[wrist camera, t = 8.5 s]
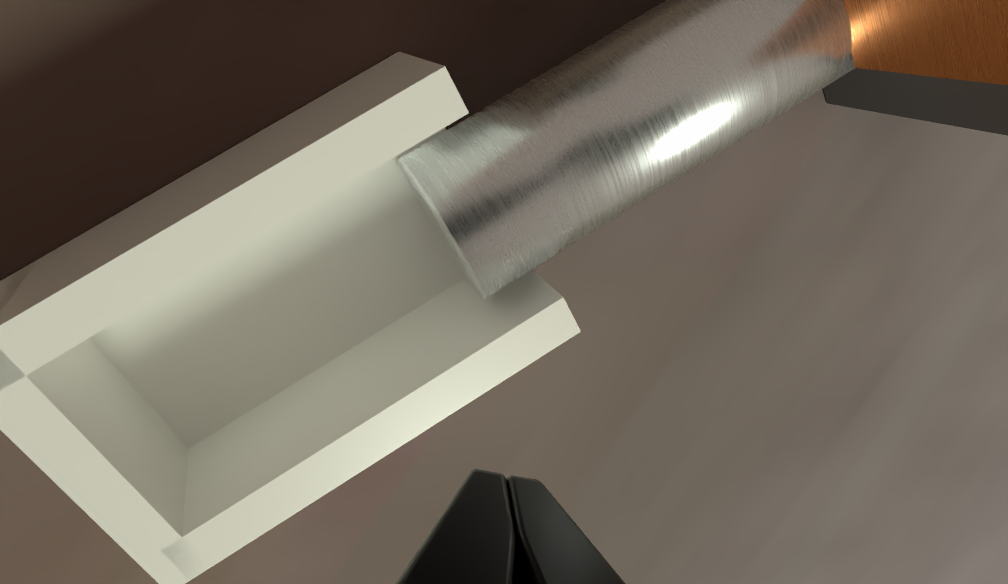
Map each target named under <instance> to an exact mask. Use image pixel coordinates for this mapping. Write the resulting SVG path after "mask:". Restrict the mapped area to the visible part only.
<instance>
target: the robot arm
mask: <svg viewBox="0 0 1008 584" xmlns="http://www.w3.org/2000/svg"><path fill="white" fill-rule="evenodd" d="M396 584H625V583H624V581H623V580H622V579H621V578H620V577H619V575H618V574H617V573H616V572H615V571H614V569H613V568H612V567H611V566H610V565H609V563H608V562H607V561H606V560H605V559H604V557H603V556H602V555H601V554H600V552H599V551H598V550H597V549H596V548H595V546H594V545H593V544H592V543H591V542H590V540H589V539H588V538H587V537H586V536H585V534H584V533H583V532H582V531H581V530H580V528H579V527H578V526H577V525H576V523H575V522H574V521H573V520H572V519H571V517H570V516H569V515H568V514H567V513H566V511H565V510H564V509H563V508H562V507H561V505H560V504H559V503H558V502H557V501H556V499H555V498H554V497H553V496H552V495H551V493H550V492H549V491H548V490H547V488H546V487H545V486H544V485H543V484H542V483H541V482H540V481H539V480H536V479H531V478H525V477H519V476H513V475H512V476H508V477H507V478H505V476H504V475H503V474H501V473H496V472H490V471H484V470H478V469H475V470H472V471H471V472H470V473H469V475H468V476H467V478H466V479H465V481H464V482H463V484H462V485H461V487H460V488H459V490H458V491H457V493H456V494H455V496H454V497H453V499H452V500H451V502H450V503H449V505H448V506H447V508H446V509H445V511H444V512H443V514H442V515H441V517H440V518H439V520H438V521H437V523H436V524H435V526H434V527H433V529H432V530H431V532H430V533H429V535H428V536H427V538H426V539H425V541H424V542H423V544H422V545H421V547H420V548H419V550H418V551H417V553H416V554H415V556H414V557H413V559H412V560H411V562H410V563H409V565H408V566H407V568H406V569H405V571H404V572H403V574H402V575H401V577H400V578H399V580H398V581H397V583H396Z"/></svg>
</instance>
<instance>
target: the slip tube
mask: <svg viewBox="0 0 1008 584" xmlns="http://www.w3.org/2000/svg"><path fill="white" fill-rule="evenodd" d="M855 68H861V69H870V70H879V71H887V72H896V73H905V74H914V75H923V76H931V77H940V78H949V79H958V80H966V81H975V82H984V83H993V84H1002V85H1008V0H666V1H664V2H663V3H661V4H659V5H657V6H656V7H654V8H652V9H651V10H649V11H647V12H646V13H644V14H642V15H641V16H639V17H637V18H636V19H634V20H632V21H630V22H629V23H627V24H625V25H624V26H622V27H620V28H619V29H617V30H615V31H614V32H612V33H610V34H609V35H607V36H605V37H603V38H602V39H600V40H598V41H597V42H595V43H593V44H592V45H590V46H588V47H587V48H585V49H583V50H582V51H580V52H578V53H576V54H575V55H573V56H571V57H570V58H568V59H566V60H565V61H563V62H561V63H560V64H558V65H556V66H555V67H553V68H551V69H549V70H548V71H546V72H544V73H543V74H541V75H539V76H538V77H536V78H534V79H533V80H531V81H529V82H528V83H526V84H524V85H523V86H521V87H519V88H517V89H516V90H514V91H512V92H511V93H509V94H507V95H506V96H504V97H502V98H501V99H499V100H497V101H496V102H494V103H492V104H490V105H489V106H487V107H485V108H484V109H482V110H480V111H479V112H477V113H475V114H474V115H472V116H470V117H469V118H467V119H465V120H463V121H462V122H460V123H458V124H457V125H455V126H453V127H452V128H450V129H448V130H447V131H445V132H443V133H442V134H440V135H438V136H436V137H435V138H433V139H431V140H430V141H428V142H426V143H425V144H423V145H421V146H420V147H418V148H416V149H415V150H413V151H411V152H409V153H408V154H406V155H404V156H403V157H401V158H399V164H400V167H401V169H402V171H403V173H404V175H405V177H406V180H407V181H408V183H409V185H410V187H411V189H412V191H413V193H414V195H415V197H416V198H417V200H418V202H419V204H420V205H421V207H422V209H423V211H424V212H425V214H426V216H427V218H428V219H429V221H430V223H431V224H432V226H433V228H434V229H435V231H436V232H437V234H438V236H439V237H440V239H441V241H442V242H443V244H444V245H445V247H446V248H447V250H448V252H449V253H450V255H451V256H452V258H453V259H454V261H455V262H456V264H457V265H458V267H459V268H460V270H461V271H462V273H463V274H464V276H465V277H466V278H467V280H468V281H469V283H470V284H471V285H472V287H473V288H474V289H475V290H476V292H477V293H478V294H479V295H480V296H481V297H482V298H483V299H485V298H487V297H488V296H490V295H492V294H493V293H495V292H496V291H498V290H500V289H501V288H503V287H504V286H506V285H508V284H509V283H511V282H512V281H514V280H516V279H517V278H519V277H520V276H522V275H524V274H525V273H527V272H529V271H530V270H532V269H533V268H535V267H537V266H538V265H540V264H541V263H543V262H545V261H546V260H548V259H549V258H551V257H553V256H554V255H556V254H557V253H559V252H561V251H562V250H564V249H565V248H567V247H569V246H570V245H572V244H573V243H575V242H577V241H578V240H580V239H582V238H583V237H585V236H586V235H588V234H590V233H591V232H593V231H594V230H596V229H598V228H599V227H601V226H602V225H604V224H606V223H607V222H609V221H610V220H612V219H614V218H615V217H617V216H618V215H620V214H622V213H623V212H625V211H626V210H628V209H630V208H631V207H633V206H635V205H636V204H638V203H639V202H641V201H643V200H644V199H646V198H647V197H649V196H651V195H652V194H654V193H655V192H657V191H659V190H660V189H662V188H663V187H665V186H667V185H668V184H670V183H671V182H673V181H675V180H676V179H678V178H679V177H681V176H683V175H684V174H686V173H688V172H689V171H691V170H692V169H694V168H696V167H697V166H699V165H700V164H702V163H704V162H705V161H707V160H708V159H710V158H712V157H713V156H715V155H716V154H718V153H720V152H721V151H723V150H724V149H726V148H728V147H729V146H731V145H733V144H734V143H736V142H737V141H739V140H741V139H742V138H744V137H745V136H747V135H749V134H750V133H752V132H753V131H755V130H757V129H758V128H760V127H761V126H763V125H765V124H766V123H768V122H769V121H771V120H773V119H774V118H776V117H777V116H779V115H781V114H782V113H784V112H786V111H787V110H789V109H790V108H792V107H794V106H795V105H797V104H798V103H800V102H802V101H803V100H805V99H806V98H808V97H810V96H811V95H813V94H814V93H816V92H818V91H819V90H821V89H822V88H824V87H826V86H827V85H829V84H830V83H832V82H834V81H835V80H837V79H839V78H840V77H842V76H843V75H845V74H847V73H848V72H850V71H851V70H853V69H855Z"/></svg>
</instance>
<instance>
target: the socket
mask: <svg viewBox="0 0 1008 584" xmlns="http://www.w3.org/2000/svg"><path fill="white" fill-rule="evenodd" d="M823 91H824V94H825V98H826V102H827V103H829V104H834V105H840V106H846V107H851V108H857V109H862V110H868V111H874V112H879V113H885V114H890V115H896V116H902V117H907V118H913V119H919V120H924V121H930V122H935V123H941V124H947V125H952V126H958V127H964V128H969V129H975V130H980V131H986V132H992V133H997V134H1003V135H1008V85H1002V84H993V83H984V82H975V81H966V80H958V79H949V78H940V77H931V76H923V75H914V74H905V73H896V72H887V71H879V70H870V69H861V68H855V69H853V70H851V71H850V72H848V73H847V74H845V75H843V76H842V77H840V78H839V79H837V80H835V81H834V82H832V83H830V84H829V85H827V86H826V87H824V88H823Z"/></svg>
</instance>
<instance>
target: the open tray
mask: <svg viewBox="0 0 1008 584" xmlns="http://www.w3.org/2000/svg"><path fill="white" fill-rule="evenodd" d="M468 113H469V112H468V110H467V108H466V106H465V104H464V102H463V100H462V98H461V96H460V94H459V92H458V90H457V88H456V87H455V85H454V83H453V81H452V79H451V77H450V75H449V73H448V71H447V69H446V67H445V66H443V65H440V64H437V63H434V62H431V61H427V60H424V59H421V58H418V57H415V56H412V55H408V54H405V53H402V52H397V53H395V54H393V55H392V56H390V57H388V58H387V59H385V60H383V61H381V62H380V63H378V64H376V65H374V66H373V67H371V68H369V69H367V70H366V71H364V72H362V73H360V74H359V75H357V76H355V77H354V78H352V79H350V80H348V81H347V82H345V83H343V84H341V85H340V86H338V87H336V88H334V89H333V90H331V91H329V92H328V93H326V94H324V95H322V96H321V97H319V98H317V99H315V100H314V101H312V102H310V103H308V104H307V105H305V106H303V107H302V108H300V109H298V110H296V111H295V112H293V113H291V114H289V115H288V116H286V117H284V118H282V119H281V120H279V121H277V122H275V123H274V124H272V125H270V126H269V127H267V128H265V129H263V130H262V131H260V132H258V133H256V134H255V135H253V136H251V137H249V138H248V139H246V140H244V141H243V142H241V143H239V144H237V145H236V146H234V147H232V148H230V149H229V150H227V151H225V152H223V153H222V154H220V155H218V156H216V157H215V158H213V159H211V160H210V161H208V162H206V163H204V164H203V165H201V166H199V167H197V168H196V169H194V170H192V171H190V172H189V173H187V174H185V175H184V176H182V177H180V178H178V179H177V180H175V181H173V182H171V183H170V184H168V185H166V186H164V187H163V188H161V189H159V190H157V191H156V192H154V193H152V194H151V195H149V196H147V197H145V198H144V199H142V200H140V201H138V202H137V203H135V204H133V205H131V206H130V207H128V208H126V209H125V210H123V211H121V212H119V213H118V214H116V215H114V216H112V217H111V218H109V219H107V220H105V221H104V222H102V223H100V224H98V225H97V226H95V227H93V228H92V229H90V230H88V231H86V232H85V233H83V234H81V235H79V236H78V237H76V238H74V239H72V240H71V241H69V242H67V243H66V244H64V245H62V246H60V247H59V248H57V249H55V250H53V251H52V252H50V253H48V254H46V255H45V256H43V257H41V258H39V259H38V260H36V261H34V262H33V263H31V264H29V265H27V266H26V267H24V268H22V269H20V270H19V271H17V272H15V273H13V274H12V275H10V276H8V277H7V278H5V279H3V280H1V281H0V430H1V431H2V432H3V433H4V434H5V435H6V436H7V437H8V438H10V439H11V440H12V441H13V442H14V443H15V444H16V445H17V446H18V447H19V448H20V449H21V450H22V451H23V452H24V453H25V454H26V455H27V456H28V457H29V458H30V459H31V460H32V461H33V462H34V463H35V464H36V465H37V466H38V467H39V468H40V469H41V470H42V471H43V472H44V473H46V474H47V475H48V476H49V477H50V478H51V479H52V480H53V481H54V482H55V483H56V484H57V485H58V486H59V487H60V488H61V489H62V490H63V491H64V492H65V493H66V494H67V495H68V496H69V497H70V498H71V499H72V500H73V501H74V502H75V503H76V504H77V505H78V506H79V507H81V508H82V509H83V510H84V511H85V512H86V513H87V514H88V515H89V516H90V517H91V518H92V519H93V520H94V521H95V522H96V523H97V524H98V525H99V526H100V527H101V528H102V529H103V530H104V531H105V532H106V533H107V534H108V535H109V536H110V537H111V538H112V539H113V540H114V541H115V542H117V543H118V544H119V545H120V546H121V547H122V548H123V549H124V550H125V551H126V552H127V553H128V554H129V555H130V556H131V557H132V558H133V559H134V560H135V561H136V562H137V563H138V564H139V565H140V566H141V567H142V568H143V569H144V570H145V571H146V572H147V573H148V574H149V575H150V576H152V577H153V578H154V579H155V580H156V581H157V582H158V583H159V584H185V583H187V582H188V581H190V580H192V579H193V578H195V577H196V576H198V575H199V574H201V573H203V572H204V571H206V570H207V569H209V568H210V567H212V566H214V565H215V564H217V563H218V562H220V561H221V560H223V559H225V558H226V557H228V556H229V555H231V554H232V553H234V552H236V551H237V550H239V549H240V548H242V547H243V546H245V545H247V544H248V543H250V542H251V541H253V540H254V539H256V538H258V537H259V536H261V535H262V534H264V533H265V532H267V531H268V530H270V529H272V528H273V527H275V526H276V525H278V524H279V523H281V522H283V521H284V520H286V519H287V518H289V517H290V516H292V515H294V514H295V513H297V512H298V511H300V510H301V509H303V508H305V507H306V506H308V505H309V504H311V503H312V502H314V501H316V500H317V499H319V498H320V497H322V496H323V495H325V494H327V493H328V492H330V491H331V490H333V489H334V488H336V487H338V486H339V485H341V484H342V483H344V482H345V481H347V480H349V479H350V478H352V477H353V476H355V475H356V474H358V473H360V472H361V471H363V470H364V469H366V468H367V467H369V466H370V465H372V464H374V463H375V462H377V461H378V460H380V459H381V458H383V457H385V456H386V455H388V454H389V453H391V452H392V451H394V450H396V449H397V448H399V447H400V446H402V445H403V444H405V443H407V442H408V441H410V440H411V439H413V438H414V437H416V436H418V435H419V434H421V433H422V432H424V431H425V430H427V429H429V428H430V427H432V426H433V425H435V424H436V423H438V422H440V421H441V420H443V419H444V418H446V417H447V416H449V415H451V414H452V413H454V412H455V411H457V410H458V409H460V408H462V407H463V406H465V405H466V404H468V403H469V402H471V401H473V400H474V399H476V398H477V397H479V396H480V395H482V394H483V393H485V392H487V391H488V390H490V389H491V388H493V387H494V386H496V385H498V384H499V383H501V382H502V381H504V380H505V379H507V378H509V377H510V376H512V375H513V374H515V373H516V372H518V371H520V370H521V369H523V368H524V367H526V366H527V365H529V364H531V363H532V362H534V361H535V360H537V359H538V358H540V357H542V356H543V355H545V354H546V353H548V352H549V351H551V350H553V349H554V348H556V347H557V346H559V345H560V344H562V343H564V342H565V341H567V340H568V339H570V338H571V337H573V336H575V335H576V334H578V333H579V332H581V331H580V329H579V327H578V325H577V323H576V321H575V319H574V317H573V315H572V313H571V311H570V310H569V308H568V306H567V304H566V302H565V300H564V298H563V297H562V296H561V295H560V294H559V293H558V292H557V291H556V290H555V289H553V288H552V287H551V286H550V285H549V284H548V283H547V282H546V281H544V280H543V279H542V278H541V277H540V276H539V275H538V274H537V273H535V272H534V271H533V270H530V271H529V272H527V273H525V274H524V275H522V276H520V277H519V278H517V279H516V280H514V281H512V282H511V283H509V284H508V285H506V286H504V287H503V288H501V289H500V290H498V291H496V292H495V293H493V294H492V295H490V296H488V297H487V298H485V299H483V298H482V297H481V296H480V295H479V294H478V293H477V292H476V290H475V289H474V288H473V287H472V285H471V284H470V283H469V281H468V280H467V278H466V277H465V276H464V274H463V273H462V271H461V270H460V268H459V267H458V265H457V264H456V262H455V261H454V259H453V258H452V256H451V255H450V253H449V252H448V250H447V248H446V247H445V245H444V244H443V242H442V241H441V239H440V237H439V236H438V234H437V232H436V231H435V229H434V228H433V226H432V224H431V223H430V221H429V219H428V218H427V216H426V214H425V212H424V211H423V209H422V207H421V205H420V204H419V202H418V200H417V198H416V197H415V195H414V193H413V191H412V189H411V187H410V185H409V183H408V181H407V180H406V177H405V175H404V173H403V171H402V169H401V167H400V164H399V158H401V157H403V156H404V155H406V154H408V153H409V152H411V151H413V150H415V149H416V148H418V147H420V146H421V145H423V144H425V143H426V142H428V141H430V140H431V139H433V138H435V137H436V136H438V135H440V134H442V133H443V132H445V131H447V130H446V128H445V127H446V126H448V125H450V124H451V123H453V122H455V121H456V120H458V119H460V118H461V117H463V116H465V115H467V114H468Z"/></svg>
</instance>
